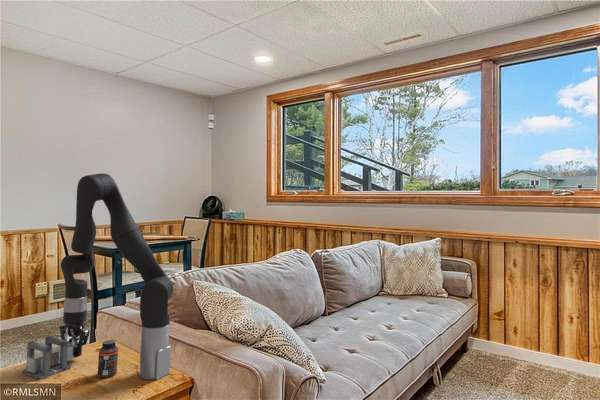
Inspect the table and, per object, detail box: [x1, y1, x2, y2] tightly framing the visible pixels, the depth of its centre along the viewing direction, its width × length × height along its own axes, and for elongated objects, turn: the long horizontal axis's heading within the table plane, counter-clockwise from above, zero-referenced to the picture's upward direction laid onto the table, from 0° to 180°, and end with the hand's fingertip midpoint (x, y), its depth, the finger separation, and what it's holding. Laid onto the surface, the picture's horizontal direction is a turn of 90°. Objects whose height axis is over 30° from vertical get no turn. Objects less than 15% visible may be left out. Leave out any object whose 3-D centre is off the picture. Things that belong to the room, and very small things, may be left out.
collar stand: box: [21, 335, 71, 381], centre depth 131 cm, size 10×10×10 cm
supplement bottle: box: [97, 339, 119, 379], centre depth 130 cm, size 6×6×11 cm
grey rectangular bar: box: [25, 341, 83, 373], centre depth 134 cm, size 4×17×5 cm, turn 156°
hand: (73, 355), depth 140 cm, fingers closed on grey rectangular bar, 4 cm apart
